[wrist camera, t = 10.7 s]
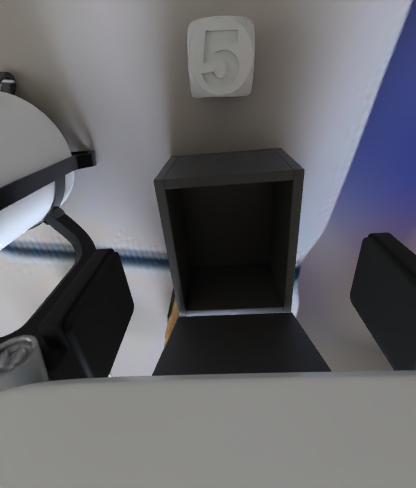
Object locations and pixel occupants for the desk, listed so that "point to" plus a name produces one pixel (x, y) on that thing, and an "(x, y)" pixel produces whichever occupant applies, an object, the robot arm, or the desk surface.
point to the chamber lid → (239, 346)
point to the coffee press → (37, 185)
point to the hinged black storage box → (231, 230)
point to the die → (221, 56)
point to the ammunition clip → (171, 317)
